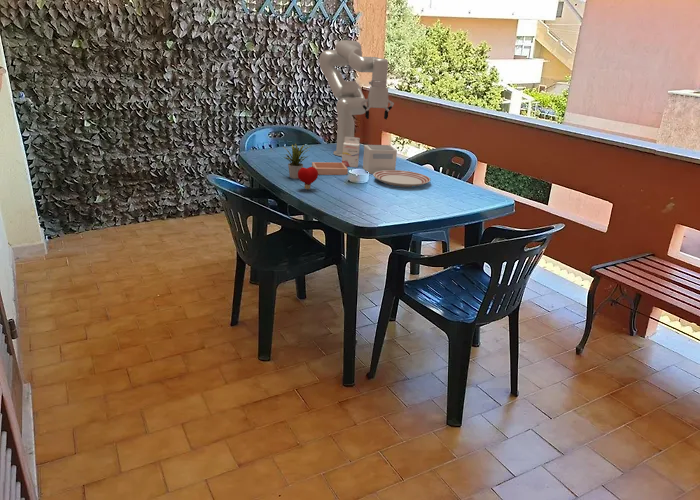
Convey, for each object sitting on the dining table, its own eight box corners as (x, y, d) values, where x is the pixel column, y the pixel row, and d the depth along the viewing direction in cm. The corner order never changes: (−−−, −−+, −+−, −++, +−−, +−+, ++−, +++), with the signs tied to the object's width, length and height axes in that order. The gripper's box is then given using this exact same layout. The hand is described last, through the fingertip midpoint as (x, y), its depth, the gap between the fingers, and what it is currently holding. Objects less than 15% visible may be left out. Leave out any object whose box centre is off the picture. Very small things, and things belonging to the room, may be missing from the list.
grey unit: (362, 167, 279) (364, 143, 275) (388, 167, 282) (390, 144, 278) (368, 173, 268) (369, 149, 263) (395, 174, 271) (397, 149, 266)
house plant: (318, 178, 254) (320, 144, 248) (297, 183, 245) (297, 147, 238) (298, 172, 263) (299, 139, 257) (276, 176, 253) (277, 142, 247)
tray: (311, 168, 272) (311, 162, 271) (342, 168, 275) (342, 162, 274) (315, 174, 261) (315, 168, 259) (347, 174, 264) (347, 168, 263)
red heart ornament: (300, 192, 231) (301, 170, 227) (294, 188, 237) (295, 166, 233) (320, 191, 235) (321, 168, 232) (313, 186, 241) (314, 164, 237)
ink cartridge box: (341, 166, 279) (342, 138, 274) (342, 164, 284) (343, 136, 278) (357, 167, 279) (359, 139, 273) (358, 165, 283) (360, 137, 278)
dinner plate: (385, 172, 274) (386, 166, 273) (437, 181, 264) (437, 174, 262) (363, 184, 251) (363, 177, 250) (418, 194, 241) (419, 187, 239)
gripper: (363, 84, 265) (361, 119, 271) (397, 85, 268) (394, 120, 275) (360, 82, 272) (358, 117, 278) (393, 84, 275) (390, 118, 282)
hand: (376, 118), depth 276 cm, fingers open, 9 cm apart
